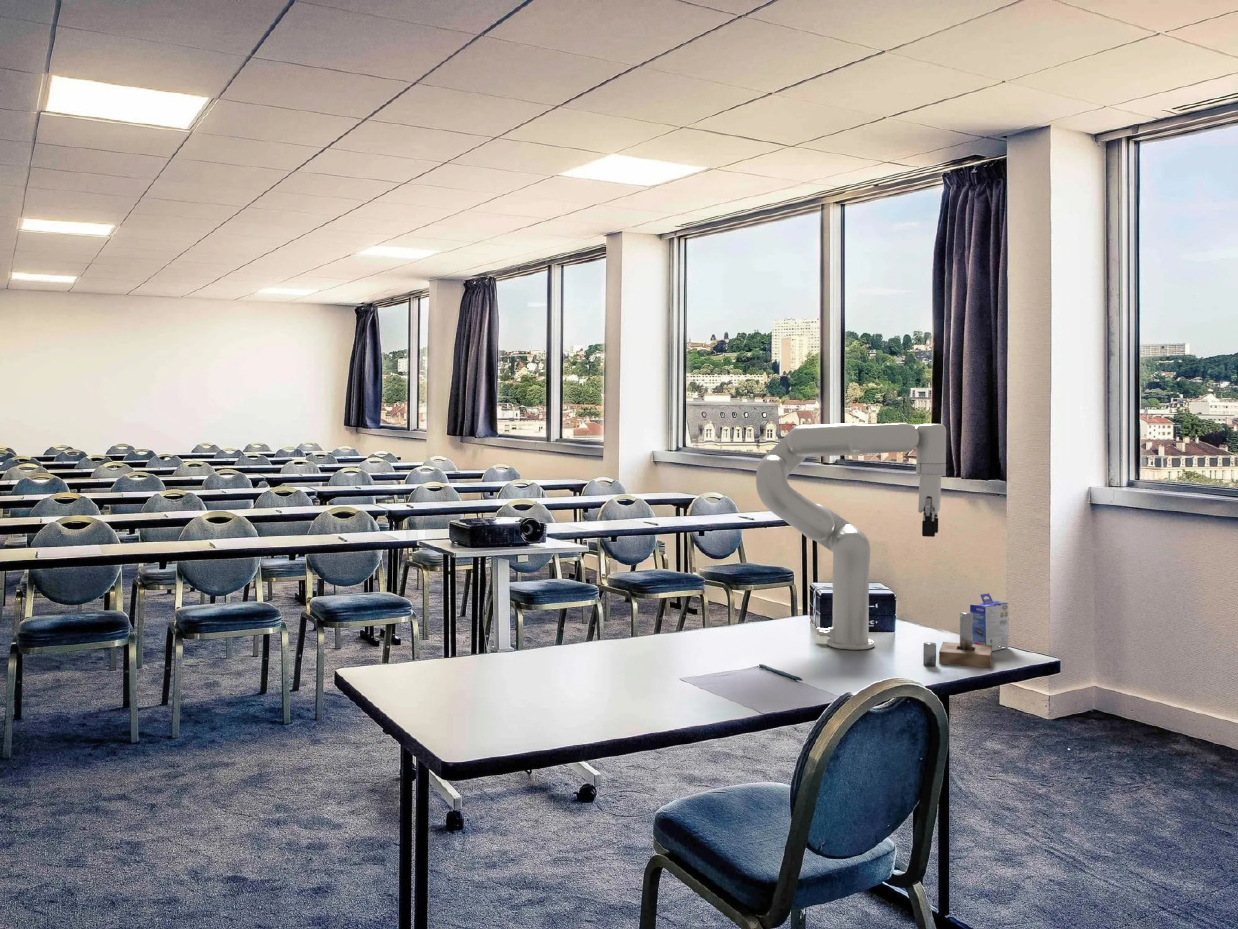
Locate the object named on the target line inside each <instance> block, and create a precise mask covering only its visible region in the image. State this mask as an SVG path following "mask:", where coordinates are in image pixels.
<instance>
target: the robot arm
mask: <svg viewBox="0 0 1238 929" xmlns="http://www.w3.org/2000/svg"><path fill="white" fill-rule="evenodd" d="M913 450H916V456H915V457H916V458H915V460H916V463H915V464H916V465H915V467H916V468H915V476H917V477H919V483H918V485H919V486H918V489H919V490H918V508H917V509H918V510H917V511H918V513H919V514H922V513H923V514H922V522H921V524H922V527H921V530H922V531H921V536H922V537H931V538H932V537H933V538H934V537H935V536H936V534H938V533H939V516H938V514H939V513H938V512H940V508H941V497H942V496H941V494H942V491H941V490H942V477H947V476H946V475H947V474H946V473H947V472H946V471H947V470H946V469H947V464H946V463H947V429H946V426H945V425H944V424H941V423H921V424H911V423H908V422H898V423H884V424H883V423H881V424H861V423H859V424H858V423H833V424H811V425H810V424H808V425H797V426H795V427H793V428H791V429H790V430H789V431H788V432H787V434H786V435H785V436H784V437H783V438H782V439H781V440H780V441H779V442H778V443H777V444H776V445H774V447H772V449H770V451H768V452H767V454H766V455H764V456H763V457H762V458H761V459H760V460H759V462H758V464H757V467H756V478H755V482H756V483H755V485H756V486H755V487H756V491H757V494H758V496H759V499H760V501H761V502H762V504H763V505H764V506H765V507H766V508H767V510H769V511H770V512H771V513H773V514H774V515H775V516H777V517H778V518H780V519H782V520H783V521H784V522H786V524H788V525H790V526H791V527H793V528H794V529H796V530H797V531H798V532H800V533H801V534H802V535H803V536H805V538H807V539H808V540H811V541H815V542H816V543H818V544H819V545H821V546H822V547H824V548H825V549H827V550H829V551H830V552H831V553H833V555H832V556H833V557H832V560H833V561H832V626H831V627H828V628H824V627H817V628H816V632H815V633H816V635H817V636H819V637H828V638H827V639H826V645H827V646H829V647H832V648H834V649H841V650H848V651H849V650H855V651H856V650H857V651H859V650H860V651H861V650H867V649H872V648H874V647H875V641H874V640H873V639H871V638H869V630H870V629H869V628H870V626H869V623H870V622H869V619H870V616H869V612H870V609H869V608H870V598H869V597H870V595H869V594H870V585H869V584H870V564H871V563H870V561H871V545H870V541H869V539H868V536H867V535H866V534H865V533H864V532H863V531H862V530H861V529H860V528H858V527H857V526H856V525H854V524H852V523H850V522H849V521H848V520H846V519H845V518H844V517H841V516H840V515H839V514H838V513H835V512H834V511H832V510H831V509H830V508H828V507H826V506H825V505H822V504H819V503H815V502H813V501H812V500H810V499H809V498H807V497H806V496H804V495H803V494H802V493H800V492H799V491H797V490H795V489H793V488H792V487H791V485H790V483H788V482H789V481H788V476H789V475H790V474H791V473H792V472H793V471H794V470H795V469H797V467H798V466H799V465H801V464H802V463H803V461H805V459H806V458H809V457H828V456H829V457H830V456H831V457H833V456H856V455H857V456H858V455H865V454H880V453H882V454H884V453H885V454H887V453H888V454H891V453H907V452H911V451H913Z"/></svg>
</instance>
